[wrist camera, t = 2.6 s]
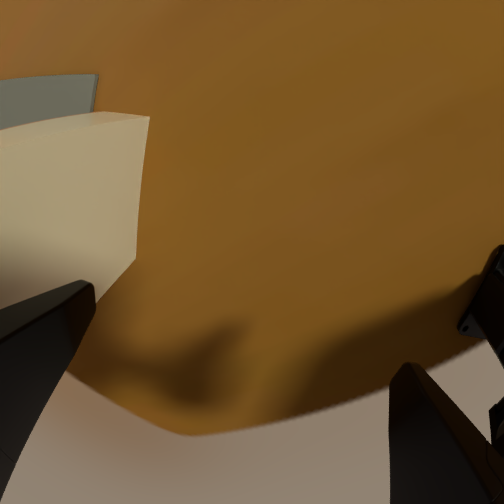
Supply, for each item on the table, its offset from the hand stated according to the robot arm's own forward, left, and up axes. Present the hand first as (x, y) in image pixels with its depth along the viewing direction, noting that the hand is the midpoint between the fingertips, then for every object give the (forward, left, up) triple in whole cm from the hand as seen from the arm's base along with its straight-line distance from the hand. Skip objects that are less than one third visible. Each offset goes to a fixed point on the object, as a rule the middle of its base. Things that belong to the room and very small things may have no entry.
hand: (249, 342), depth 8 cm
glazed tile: (+8, 0, -8) cm, 12 cm away
